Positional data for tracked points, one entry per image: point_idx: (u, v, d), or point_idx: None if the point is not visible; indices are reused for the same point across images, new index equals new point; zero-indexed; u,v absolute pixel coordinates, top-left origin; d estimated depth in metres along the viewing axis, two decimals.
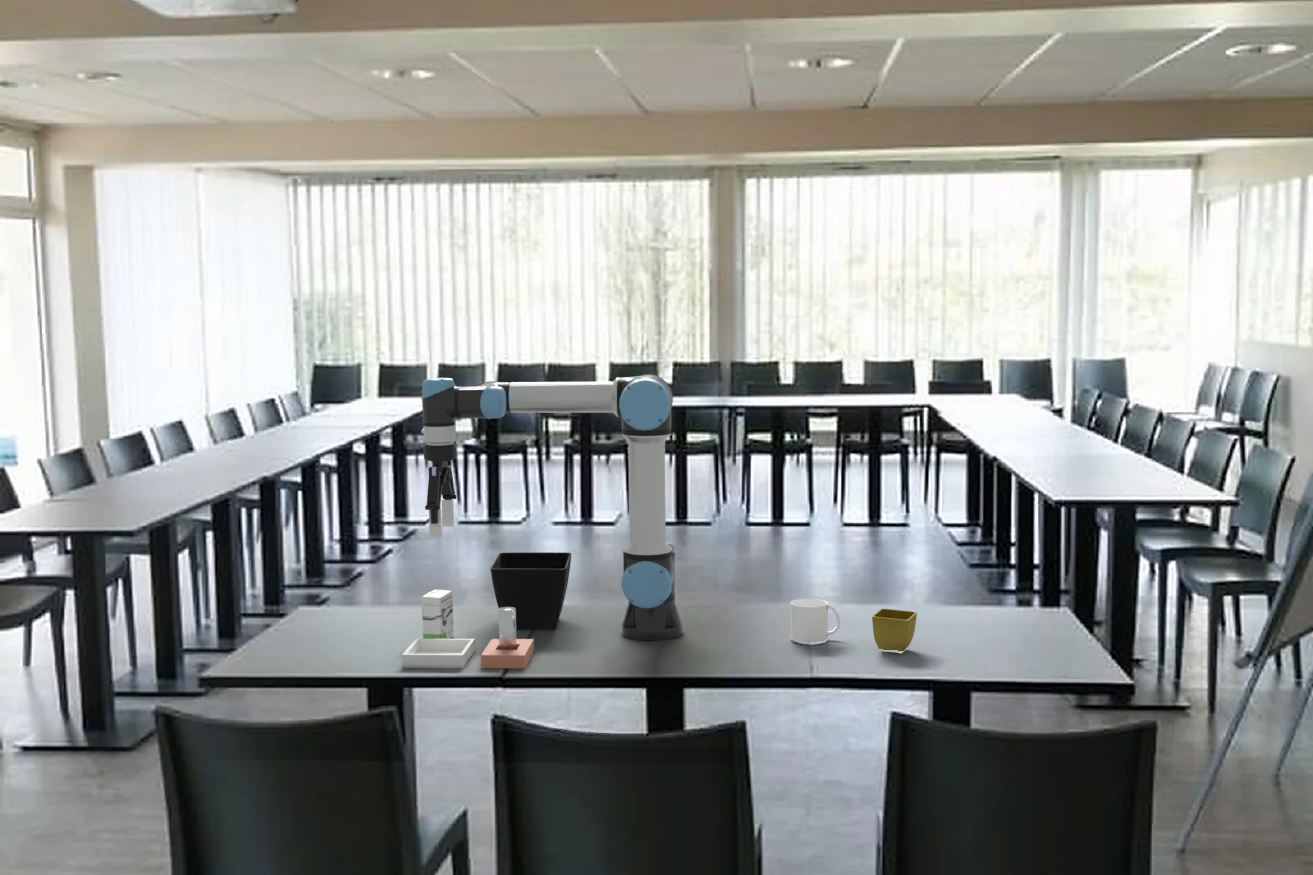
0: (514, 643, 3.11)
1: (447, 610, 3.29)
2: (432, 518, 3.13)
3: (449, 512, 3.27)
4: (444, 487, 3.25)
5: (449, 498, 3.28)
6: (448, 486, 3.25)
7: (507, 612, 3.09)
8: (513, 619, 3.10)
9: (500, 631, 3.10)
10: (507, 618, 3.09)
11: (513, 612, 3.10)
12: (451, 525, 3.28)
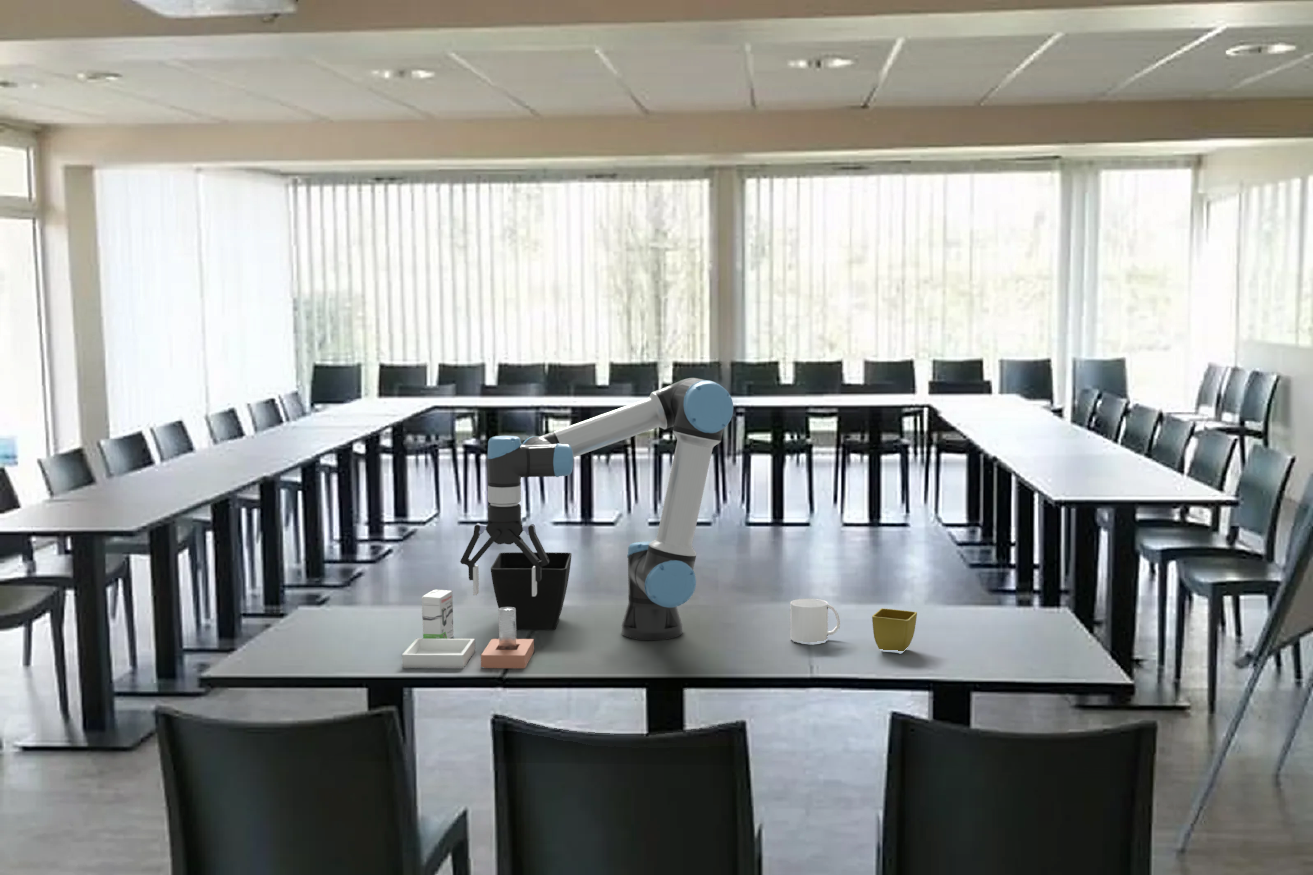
0: (514, 643, 3.11)
1: (447, 610, 3.29)
2: None
3: (532, 580, 3.09)
4: None
5: None
6: None
7: (507, 612, 3.09)
8: (513, 619, 3.10)
9: (500, 631, 3.10)
10: (507, 618, 3.09)
11: (513, 612, 3.10)
12: (532, 594, 3.09)
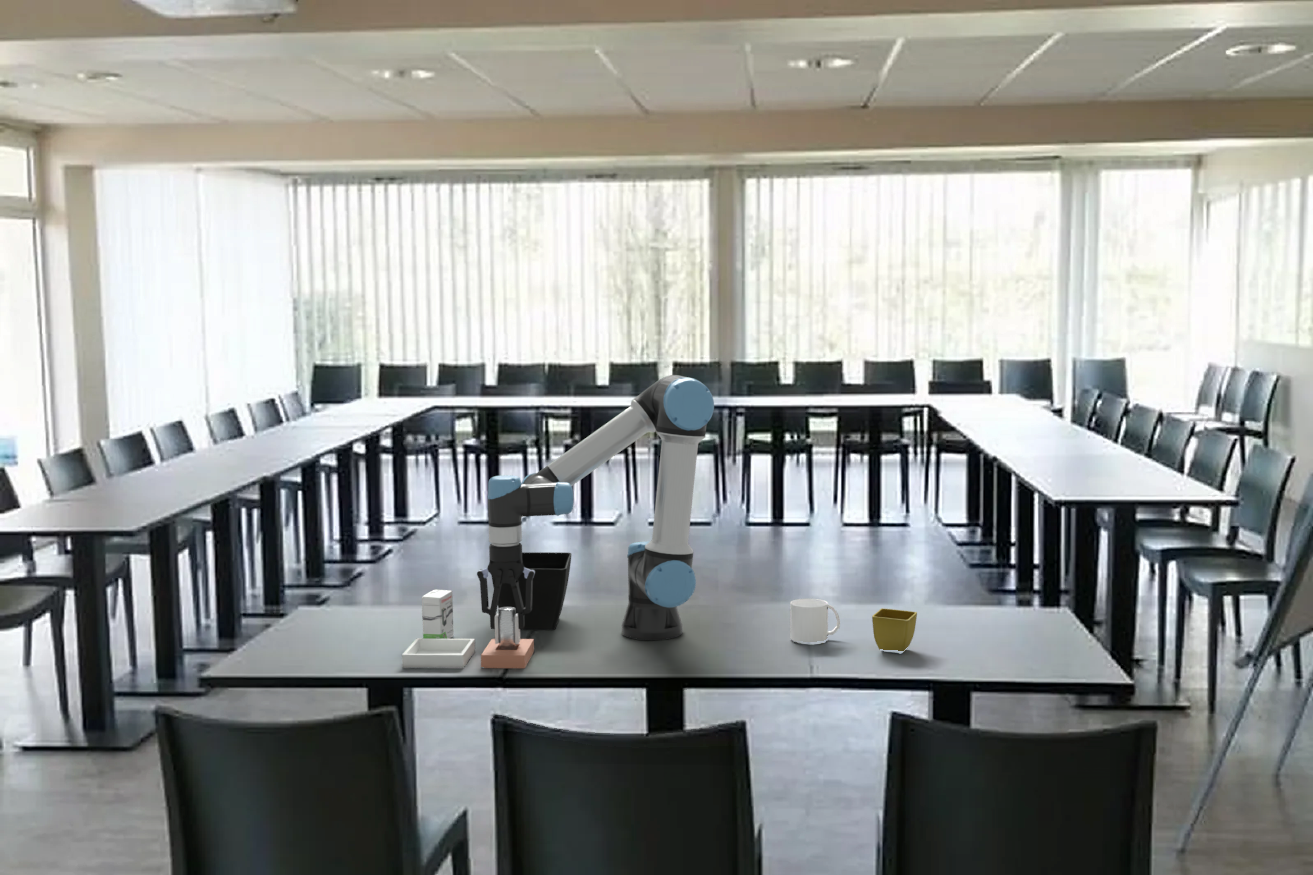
0: (514, 643, 3.11)
1: (447, 610, 3.29)
2: None
3: None
4: None
5: (517, 612, 3.11)
6: None
7: (507, 612, 3.09)
8: (513, 619, 3.10)
9: (500, 631, 3.10)
10: (507, 618, 3.09)
11: (513, 612, 3.10)
12: None
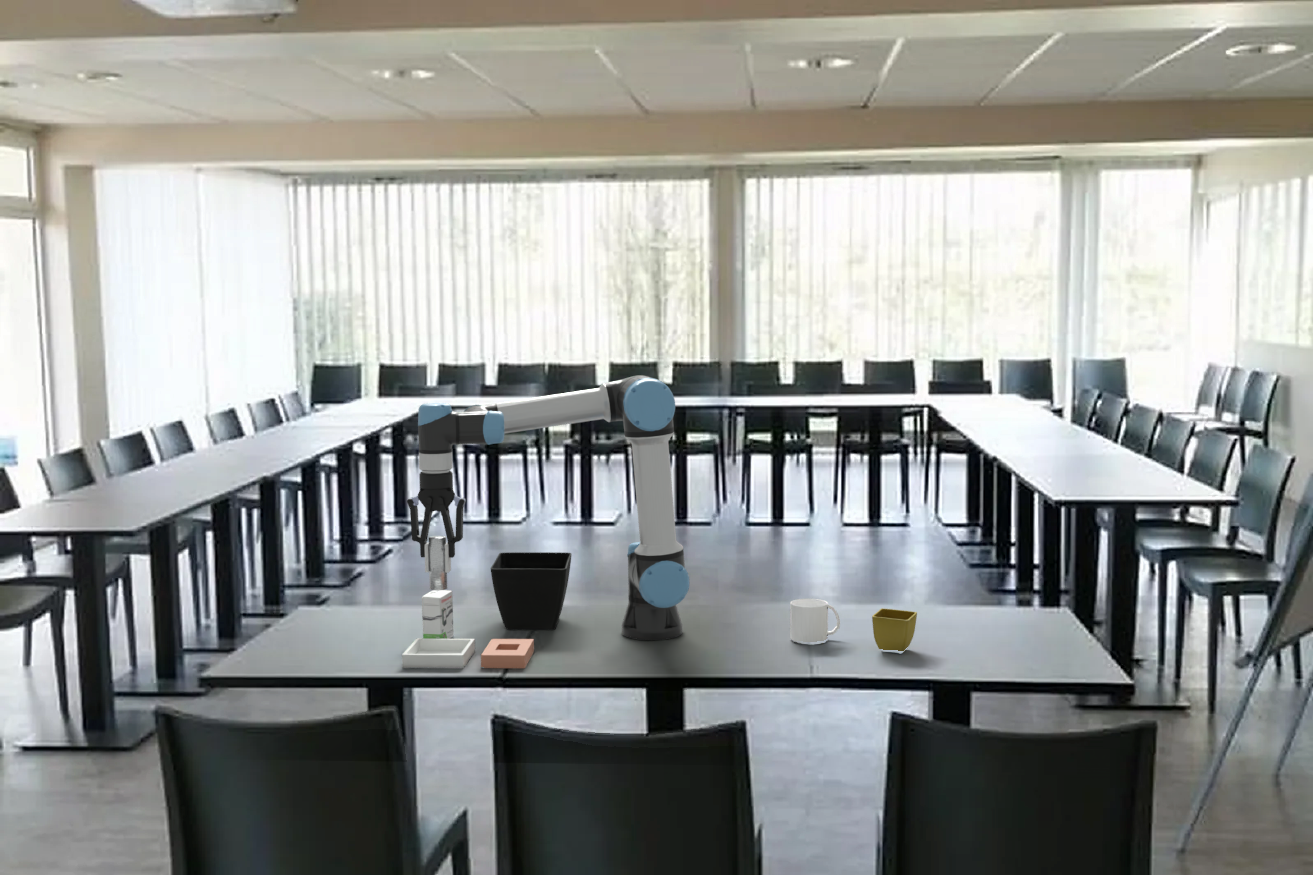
0: None
1: (447, 610, 3.29)
2: None
3: None
4: None
5: (448, 541, 3.09)
6: None
7: (437, 540, 3.08)
8: (443, 547, 3.09)
9: (430, 559, 3.09)
10: (437, 546, 3.08)
11: (443, 540, 3.08)
12: None
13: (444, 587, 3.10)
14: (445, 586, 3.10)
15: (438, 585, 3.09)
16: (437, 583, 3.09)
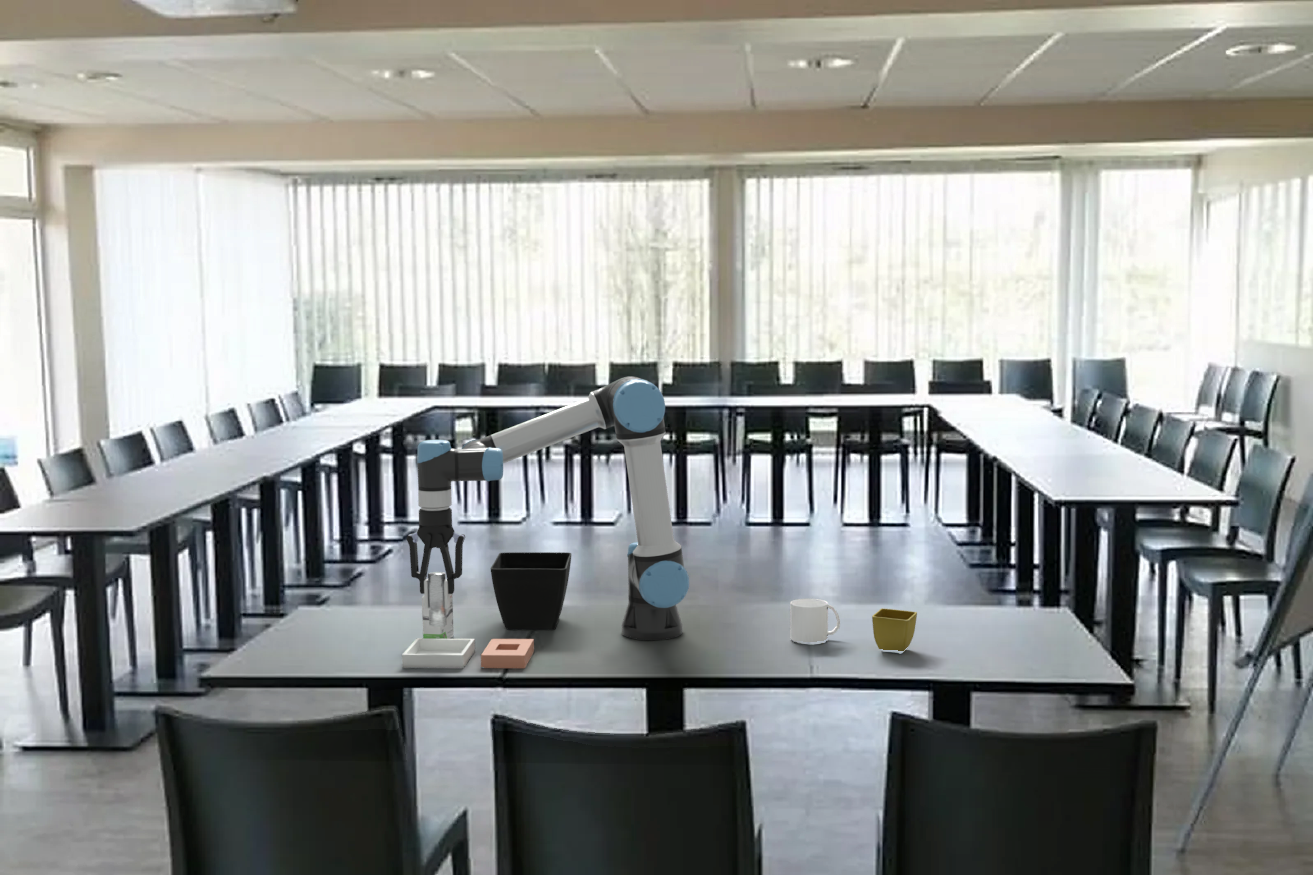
0: (444, 608, 3.11)
1: (447, 610, 3.29)
2: None
3: None
4: None
5: None
6: None
7: (436, 576, 3.09)
8: (443, 584, 3.10)
9: (429, 596, 3.10)
10: (436, 583, 3.09)
11: (442, 577, 3.10)
12: None
13: (443, 623, 3.11)
14: (444, 622, 3.11)
15: (437, 621, 3.10)
16: (437, 620, 3.10)
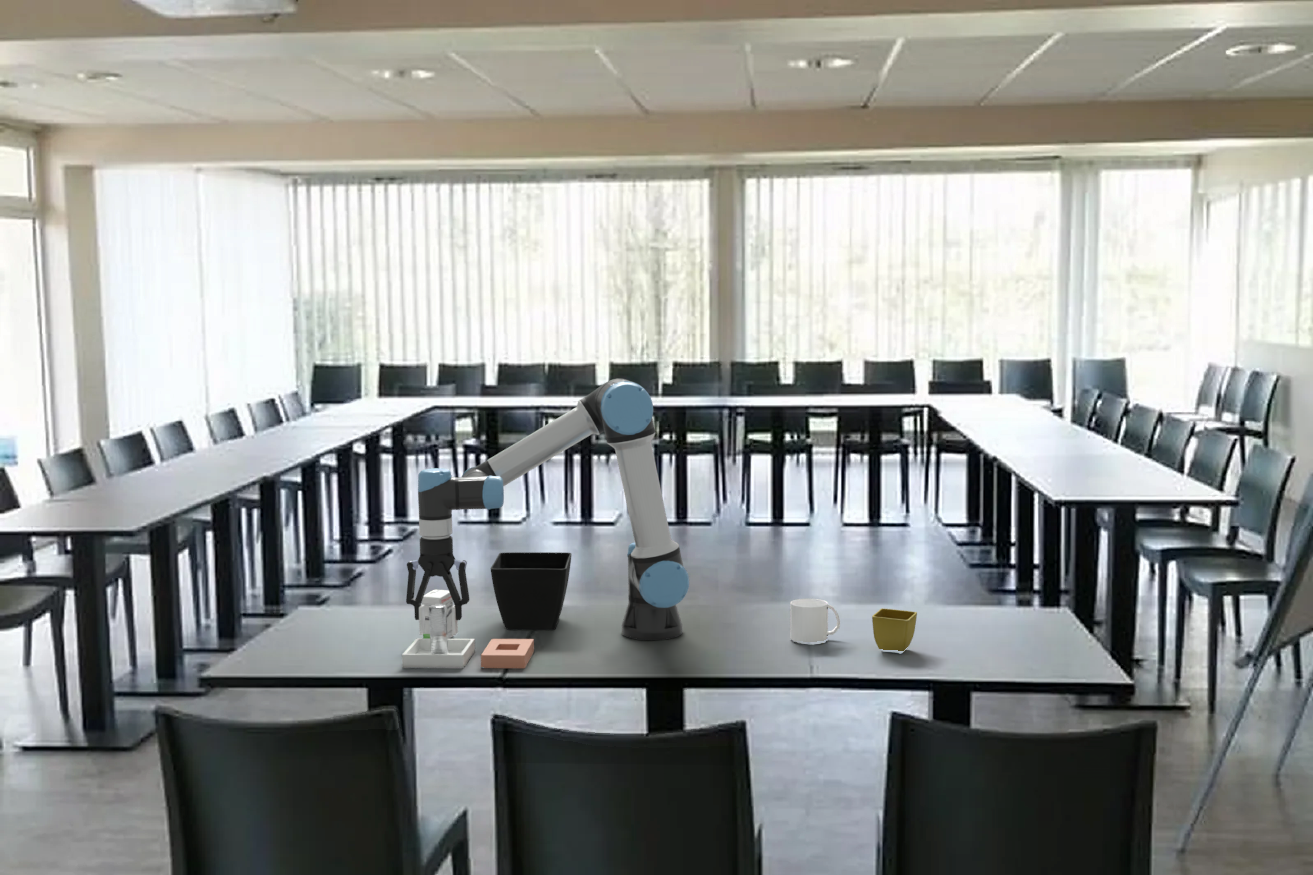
0: (445, 640, 3.11)
1: (447, 610, 3.29)
2: None
3: None
4: None
5: None
6: None
7: (437, 610, 3.10)
8: (444, 617, 3.11)
9: (431, 629, 3.11)
10: (437, 616, 3.10)
11: (443, 609, 3.10)
12: None
13: None
14: None
15: None
16: (438, 652, 3.11)
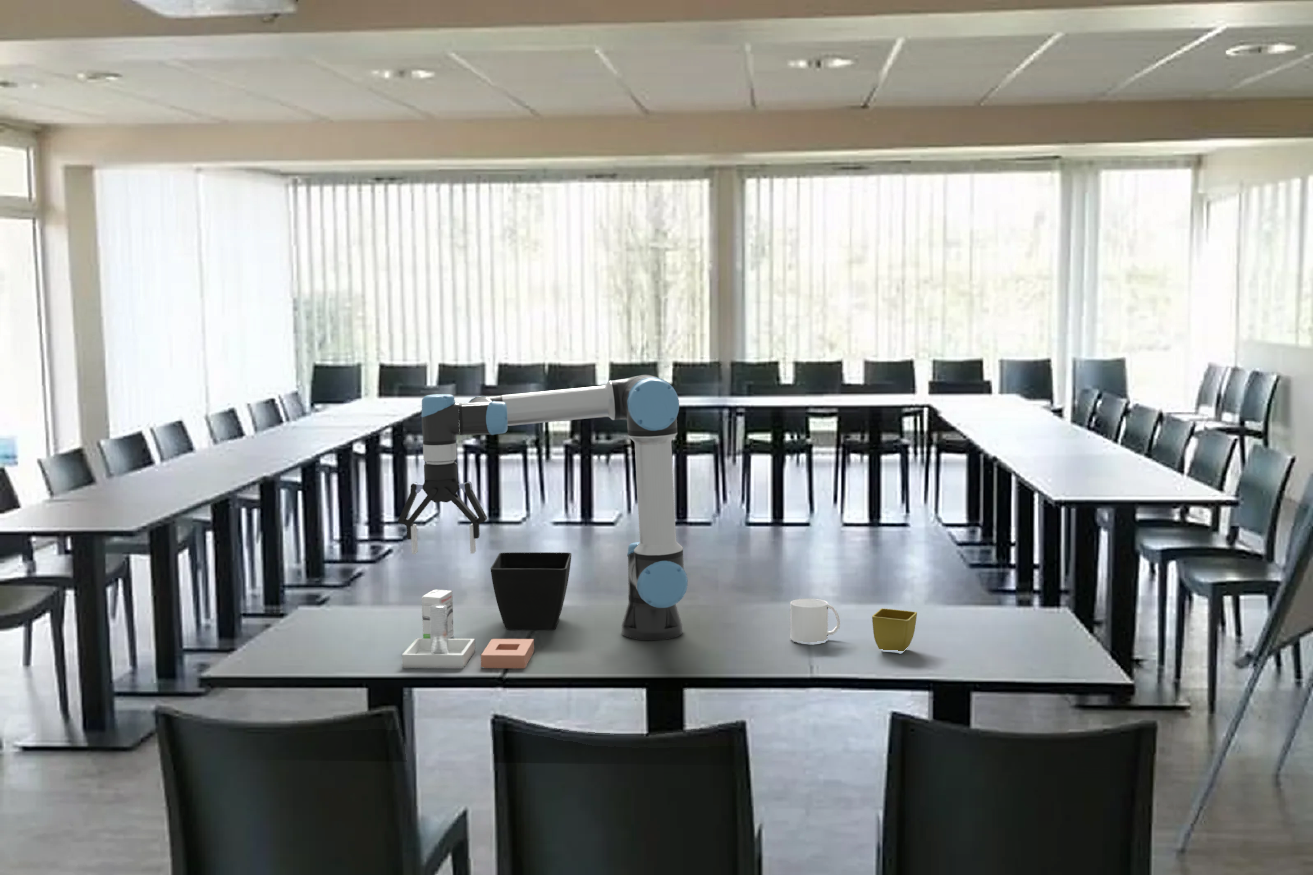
0: (446, 640, 3.12)
1: (447, 610, 3.29)
2: None
3: None
4: None
5: (473, 523, 3.10)
6: None
7: (438, 609, 3.10)
8: (444, 617, 3.11)
9: (431, 628, 3.11)
10: (438, 616, 3.10)
11: (444, 609, 3.11)
12: None
13: None
14: None
15: None
16: (438, 652, 3.11)
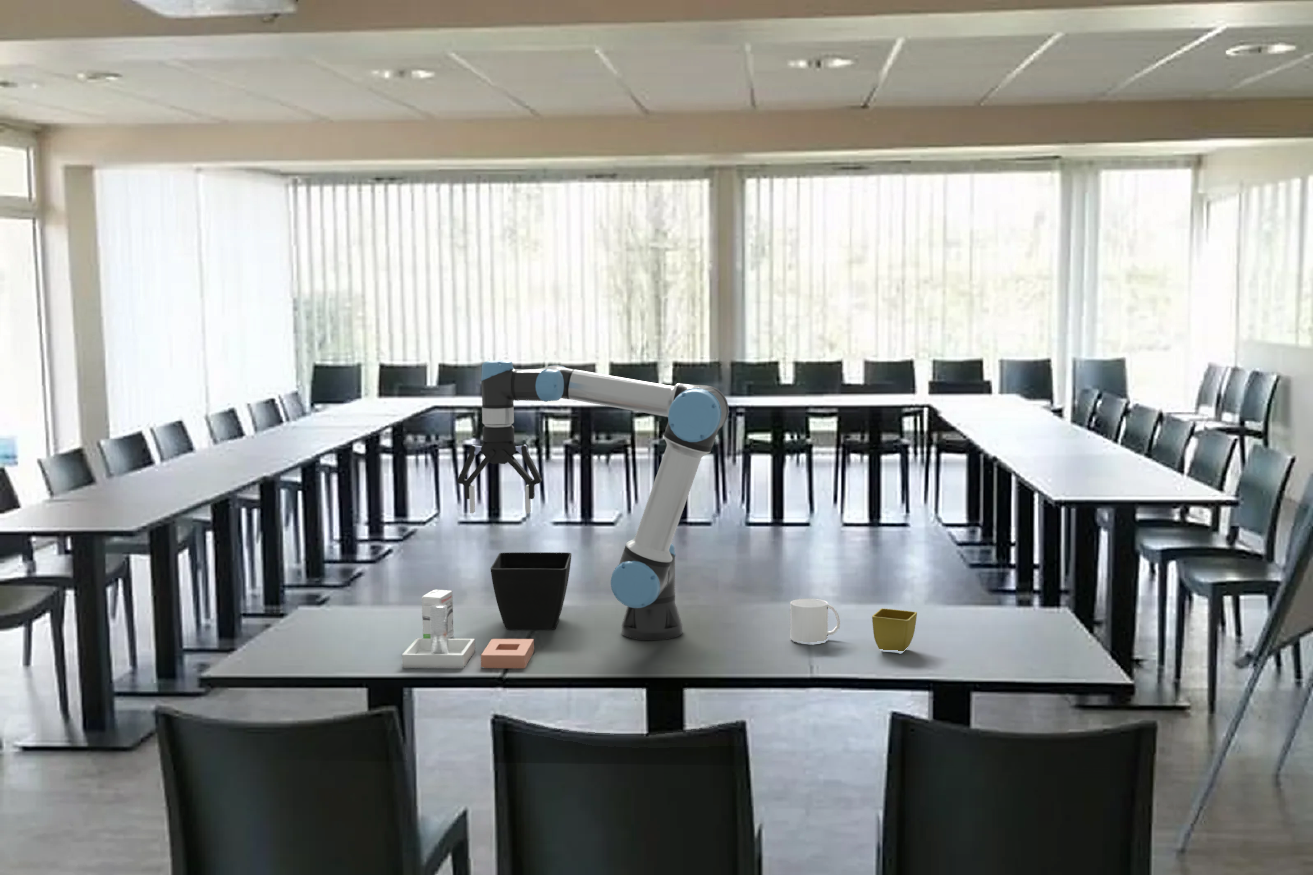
0: (446, 640, 3.12)
1: (447, 610, 3.29)
2: None
3: None
4: None
5: (528, 484, 3.24)
6: None
7: (438, 609, 3.10)
8: (445, 617, 3.11)
9: (431, 628, 3.11)
10: (438, 616, 3.10)
11: (444, 610, 3.10)
12: (526, 511, 3.24)
13: None
14: None
15: None
16: (438, 652, 3.11)
